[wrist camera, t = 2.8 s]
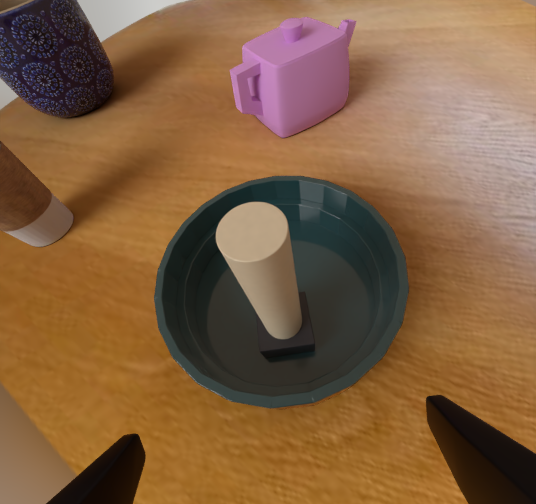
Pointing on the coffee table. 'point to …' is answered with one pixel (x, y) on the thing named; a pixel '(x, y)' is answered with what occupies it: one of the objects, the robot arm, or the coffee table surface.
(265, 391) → the basin
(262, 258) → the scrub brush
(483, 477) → the robot arm
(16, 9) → the planter
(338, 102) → the teapot
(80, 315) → the coffee table surface
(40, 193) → the coffee cup
